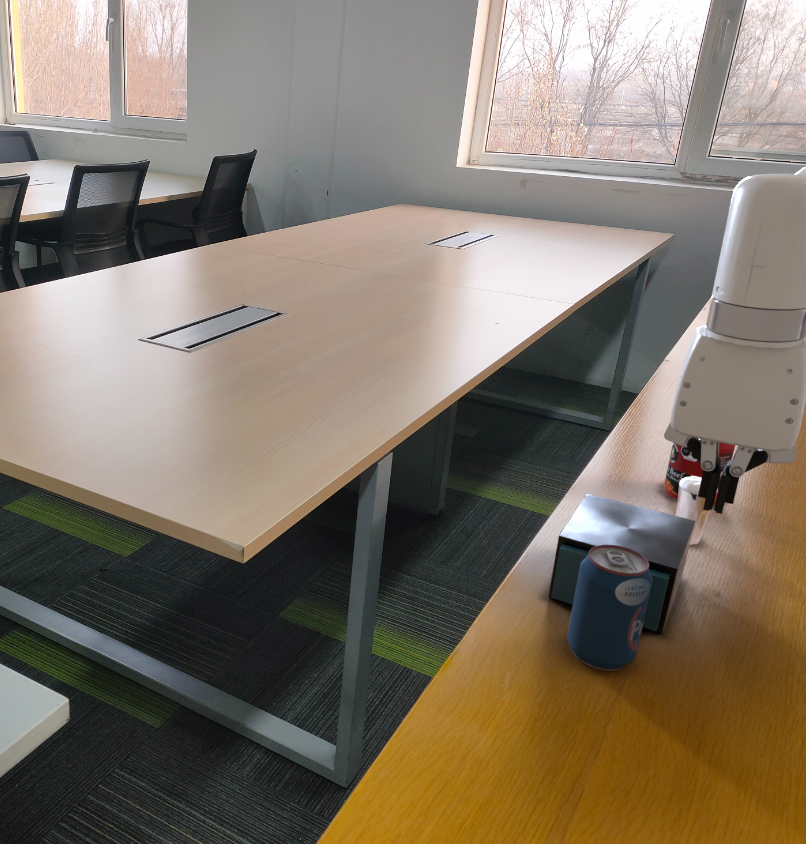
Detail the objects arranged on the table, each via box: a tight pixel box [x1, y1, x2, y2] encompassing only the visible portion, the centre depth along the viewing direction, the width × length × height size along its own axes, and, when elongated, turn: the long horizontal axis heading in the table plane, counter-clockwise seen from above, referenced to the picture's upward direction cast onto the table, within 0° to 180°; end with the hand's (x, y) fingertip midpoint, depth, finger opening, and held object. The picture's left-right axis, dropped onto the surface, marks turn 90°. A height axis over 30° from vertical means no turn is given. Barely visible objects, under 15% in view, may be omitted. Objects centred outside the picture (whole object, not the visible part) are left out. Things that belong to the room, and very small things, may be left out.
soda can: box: [566, 545, 652, 672], centre depth 85 cm, size 7×7×12 cm
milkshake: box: [674, 472, 723, 546], centre depth 109 cm, size 4×5×10 cm
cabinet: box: [547, 493, 695, 635], centre depth 97 cm, size 14×13×9 cm
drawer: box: [552, 544, 670, 631], centre depth 95 cm, size 14×11×7 cm
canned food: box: [663, 442, 736, 505], centre depth 121 cm, size 8×8×11 cm
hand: (714, 506), depth 77 cm, fingers closed
